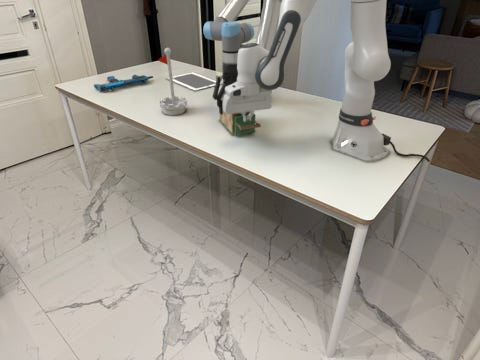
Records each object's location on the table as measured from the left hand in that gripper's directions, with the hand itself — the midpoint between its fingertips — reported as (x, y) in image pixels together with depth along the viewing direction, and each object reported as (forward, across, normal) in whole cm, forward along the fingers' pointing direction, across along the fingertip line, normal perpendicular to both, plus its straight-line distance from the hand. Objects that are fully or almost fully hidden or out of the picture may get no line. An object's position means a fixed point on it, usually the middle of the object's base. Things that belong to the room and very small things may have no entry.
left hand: (232, 111), depth 156 cm
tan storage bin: (+5, 0, +5) cm, 7 cm away
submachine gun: (+5, +42, -79) cm, 90 cm away
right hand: (-3, 0, +19) cm, 19 cm away
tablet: (+5, +1, -67) cm, 67 cm away
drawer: (+4, 0, +11) cm, 12 cm away
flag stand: (+5, +22, -23) cm, 33 cm away
